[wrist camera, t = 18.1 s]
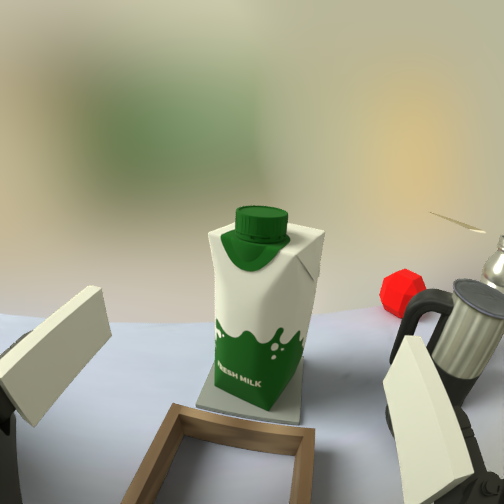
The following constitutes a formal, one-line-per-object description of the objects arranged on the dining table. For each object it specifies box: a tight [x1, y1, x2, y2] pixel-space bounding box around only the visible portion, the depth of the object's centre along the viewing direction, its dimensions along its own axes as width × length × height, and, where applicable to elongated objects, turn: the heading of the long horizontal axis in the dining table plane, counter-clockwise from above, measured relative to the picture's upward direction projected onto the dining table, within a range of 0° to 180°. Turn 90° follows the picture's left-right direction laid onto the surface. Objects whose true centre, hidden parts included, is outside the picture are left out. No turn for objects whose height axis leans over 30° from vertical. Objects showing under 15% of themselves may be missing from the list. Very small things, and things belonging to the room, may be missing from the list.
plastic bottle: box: [480, 235, 504, 294], centre depth 29 cm, size 6×7×20 cm
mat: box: [196, 356, 304, 425], centre depth 30 cm, size 11×11×1 cm
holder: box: [120, 403, 315, 504], centre depth 16 cm, size 13×13×4 cm
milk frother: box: [385, 279, 504, 439], centre depth 22 cm, size 14×16×15 cm
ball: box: [379, 269, 426, 318], centre depth 45 cm, size 8×8×8 cm
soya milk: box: [208, 206, 325, 412], centre depth 27 cm, size 9×9×20 cm
